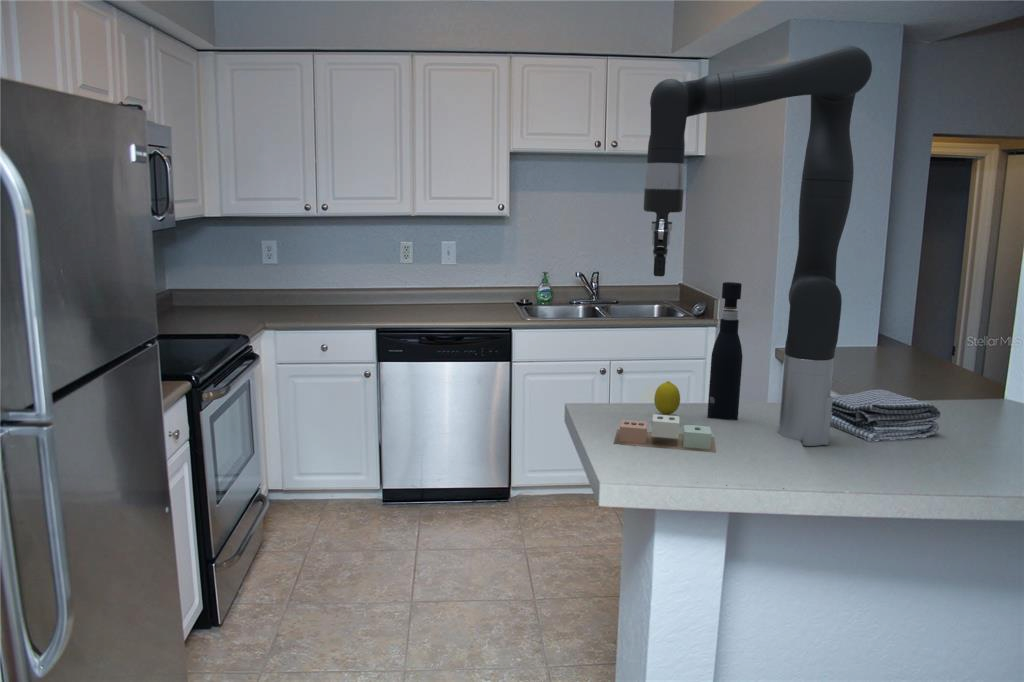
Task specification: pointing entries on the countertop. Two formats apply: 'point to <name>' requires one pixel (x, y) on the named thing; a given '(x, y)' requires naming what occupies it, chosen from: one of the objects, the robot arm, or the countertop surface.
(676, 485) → the countertop surface
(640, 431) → the key three
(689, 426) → the key one
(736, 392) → the wine bottle
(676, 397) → the lemon
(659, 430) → the key two
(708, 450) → the board
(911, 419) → the towel
